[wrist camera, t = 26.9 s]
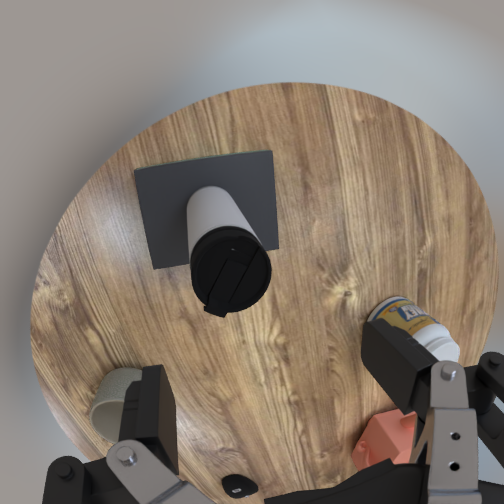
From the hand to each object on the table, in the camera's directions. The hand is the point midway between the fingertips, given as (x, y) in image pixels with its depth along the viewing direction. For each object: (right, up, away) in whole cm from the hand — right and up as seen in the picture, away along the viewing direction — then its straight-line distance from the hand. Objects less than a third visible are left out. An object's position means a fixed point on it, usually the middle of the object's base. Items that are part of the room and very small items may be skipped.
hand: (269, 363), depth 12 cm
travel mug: (-6, +10, +30) cm, 32 cm away
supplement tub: (+26, -10, +46) cm, 54 cm away
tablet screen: (-6, +10, +30) cm, 33 cm away
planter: (-22, -20, +39) cm, 49 cm away
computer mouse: (-4, -57, +55) cm, 79 cm away
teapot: (+34, -40, +58) cm, 78 cm away
